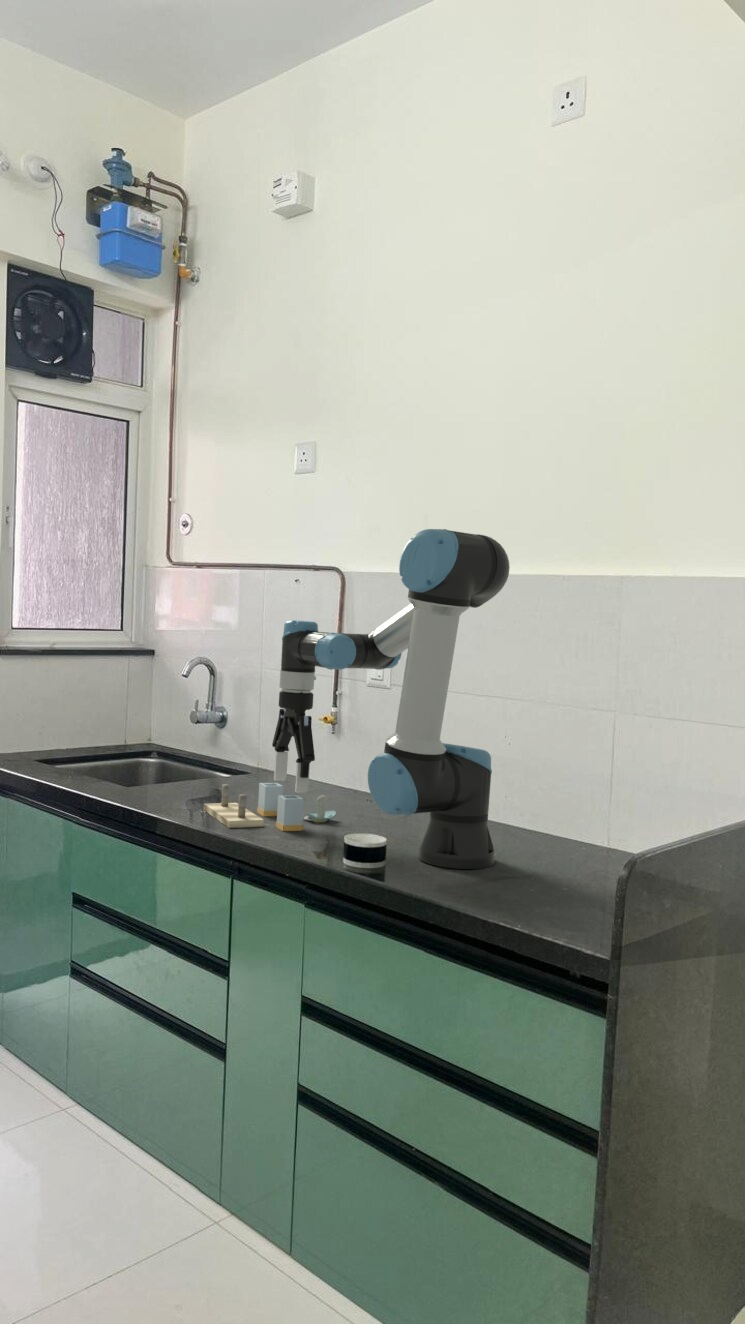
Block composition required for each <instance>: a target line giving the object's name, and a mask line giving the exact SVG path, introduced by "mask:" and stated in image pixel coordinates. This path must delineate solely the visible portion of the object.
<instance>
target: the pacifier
mask: <svg viewBox="0 0 745 1324" xmlns="http://www.w3.org/2000/svg"><path fill="white" fill-rule="evenodd" d="M328 801H329V800H328V797H327V795H323V794H322V795H320V796H318V797H317V799H316V801H315V807H316V813H309V812H305V814H306V816H303V820H305V821H310V822H314V823H326V822H328V820H331V819H333V818H335V816H336V814H337V812H336V810H326V807H327V805H328Z"/></svg>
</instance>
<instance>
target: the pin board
mask: <svg viewBox="0 0 745 1324" xmlns="http://www.w3.org/2000/svg"><path fill="white" fill-rule="evenodd" d="M221 787H222V788H221V802H218V803H203V811H204V810H205V811H204V812H206V813H208V814H209V815H210V816H212V817H213V818H214V819H215V820H217V821H218V822H220V823H221V824H222V823H223V824H222V825H224V826H225V827H227V828H228V829H231V828H233V829H234V828H259V827H264V821H265V819H264V818H262V817H260V816H258V815H257V814H255V813H254V812H252V811H250V810H249V809H247V794H244V793H243V794H238V803H237V802H229V797H230V796H229V795H230V784H225V783H224V784H223V783H222V786H221Z"/></svg>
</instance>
